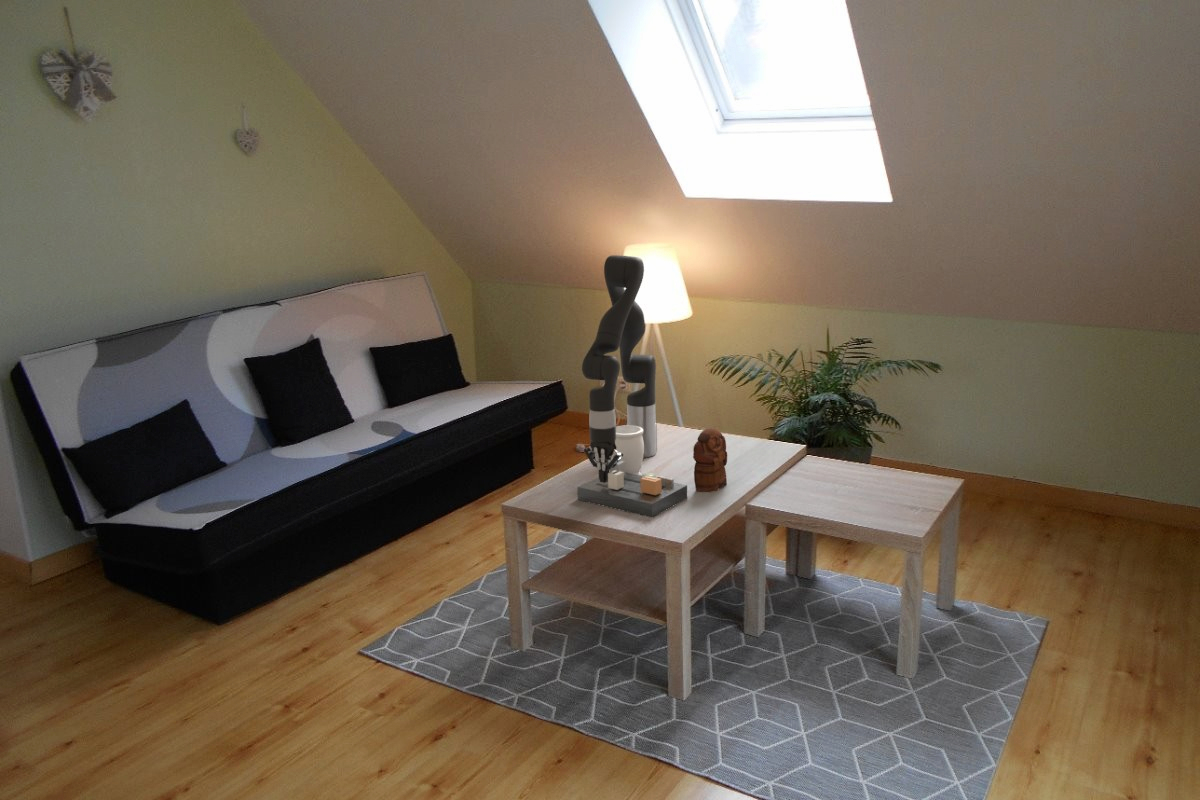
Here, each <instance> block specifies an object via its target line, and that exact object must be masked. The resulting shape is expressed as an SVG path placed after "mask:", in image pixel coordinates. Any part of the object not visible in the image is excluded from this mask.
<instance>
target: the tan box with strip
mask: <svg viewBox="0 0 1200 800" xmlns="http://www.w3.org/2000/svg"><path fill="white" fill-rule="evenodd" d="M641 492H643V493H647V494H652V495H657V494H659V493H661V492H662V485H661V479H660V478H657V477H656V478H655V477H651V476H645V477H643V478H641Z"/></svg>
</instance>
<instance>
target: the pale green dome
mask: <svg viewBox="0 0 1200 800" xmlns="http://www.w3.org/2000/svg"><path fill="white" fill-rule="evenodd" d="M641 476H642V478H643V477H645V476H651V477H655V478H657V475H656V473H654V472H653V473H652V472H645V473H641Z"/></svg>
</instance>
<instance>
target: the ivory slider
mask: <svg viewBox="0 0 1200 800" xmlns="http://www.w3.org/2000/svg"><path fill="white" fill-rule="evenodd" d="M609 472H610V471H609ZM622 487H624V472H621V471H616V470H614V471H612V472H610V473H608V488H611V489H616V490H618V489H620V488H622Z"/></svg>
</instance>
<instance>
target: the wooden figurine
mask: <svg viewBox="0 0 1200 800" xmlns="http://www.w3.org/2000/svg"><path fill="white" fill-rule="evenodd" d="M692 453H693V456H692V458H693V460H694V461H695V464H694V469H693V470H694V471H693V478H694V479H693V480H694V481H693V482H694V485H695V491H696V492H702V493H711V492H712V493H713V492H716V491H719V490H720V489H722V488H724V485H727V484H728V483H727V471H726V467H725V466H726V465H727V463H728V452H727V443H726V438H725V436H724V435H723V434H722V432H721V431H720V430H718V429H717V428H712V427H711V428H706V429H703V431H701V432H700V434H699V435H698V437H697V441H696V442H695V443H694V446H693V452H692Z"/></svg>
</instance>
